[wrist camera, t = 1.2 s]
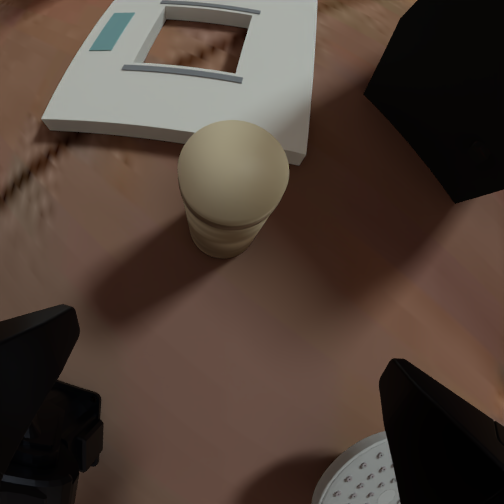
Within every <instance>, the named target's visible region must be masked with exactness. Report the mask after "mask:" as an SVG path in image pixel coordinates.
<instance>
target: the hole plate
mask: <svg viewBox="0 0 504 504" xmlns="http://www.w3.org/2000/svg"><path fill="white" fill-rule="evenodd" d="M166 19H170V20H185V21H196V22H206V23H214V24H222V25H229V26H236V27H242V28H248V31H247V35H246V38H245V42H244V45H243V48H242V52H241V55H240V59H239V63H238V66H237V70H236V73H229V72H222V71H216V70H209V69H201V68H194V67H185V66H175V65H164V64H151V63H143V62H144V60H145V58H146V56H147V54H148V52H149V50H150V48H151V46H152V44H153V43H154V41H155V39H156V37H157V35H158V33H159V32H160V30H161V28H162V26H163V24H164V23H165V21H166ZM316 20H317V0H114V1H113V3H112V4H111V5H110V6H109V8H108V9H107V10H106V12H105V13H104V14H103V16H102V17H101V18H100V20H99V21H98V23H97V24H96V25H95V27H94V28H93V30H92V31H91V33H90V34H89V36H88V37H87V39H86V40H85V42H84V43H83V45H82V46H81V48H80V49H79V51H78V52H77V54H76V56H75V57H74V59H73V61H72V62H71V64H70V66H69V67H68V69H67V71H66V72H65V74H64V76H63V78H62V79H61V81H60V83H59V85H58V87H57V89H56V91H55V92H54V94H53V96H52V98H51V100H50V102H49V104H48V106H47V108H46V110H45V112H44V114H43V116H42V121H43V122H44V123H45V125H46V126H47V127H48V128H49V130H54V131H71V132H86V133H98V134H109V135H119V136H129V137H137V138H146V139H154V140H161V141H169V142H176V143H182V144H185V143H186V142H187V141H188V139H189V138H190V137H191V136H192V135H193V134H194V133H196V132H197V131H198V130H200V129H201V128H203V127H205V126H207V125H209V124H212V123H215V122H219V121H224V120H239V121H245V122H249V123H252V124H255V125H257V126H259V127H261V128H263V129H265V130H266V131H268V132H269V133H270V134H271V135H273V136H274V137H275V138H276V139H277V141H278V142H279V143H280V145H281V146H282V148H283V149H284V151H285V154H286V156H287V159H288V163H289V164H293V165H298V166H299V165H300V164H301V162H302V161H303V159H304V157H305V156H306V152H307V142H308V131H309V120H310V109H311V96H312V84H313V70H314V55H315V39H316Z"/></svg>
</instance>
